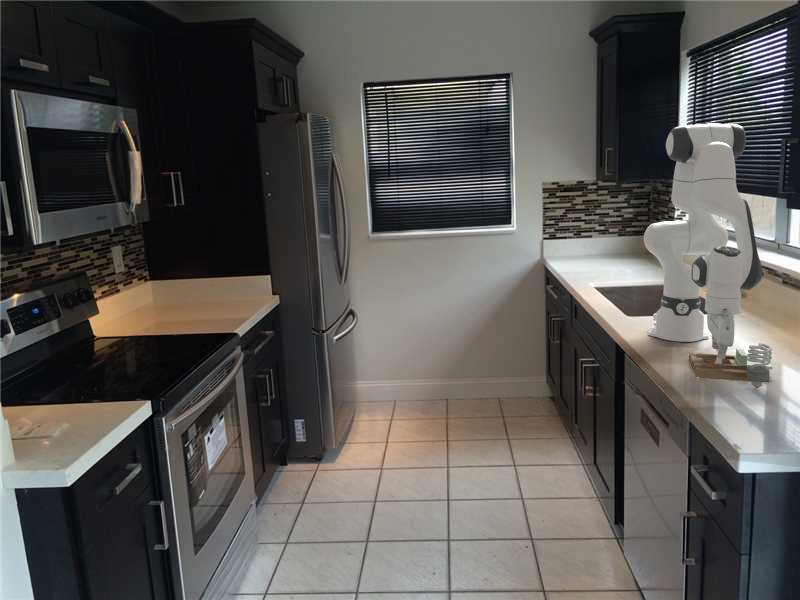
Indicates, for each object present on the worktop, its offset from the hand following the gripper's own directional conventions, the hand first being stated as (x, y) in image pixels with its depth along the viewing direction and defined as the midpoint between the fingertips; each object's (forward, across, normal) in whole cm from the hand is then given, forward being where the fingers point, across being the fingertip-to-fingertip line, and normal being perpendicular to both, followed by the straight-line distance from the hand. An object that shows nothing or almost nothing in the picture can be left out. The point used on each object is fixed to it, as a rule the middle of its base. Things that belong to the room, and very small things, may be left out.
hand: (718, 353), depth 189 cm
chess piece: (+5, -1, 0) cm, 5 cm away
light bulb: (+5, -13, -8) cm, 16 cm away
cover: (+2, 0, -9) cm, 9 cm away
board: (+5, 0, -2) cm, 6 cm away
